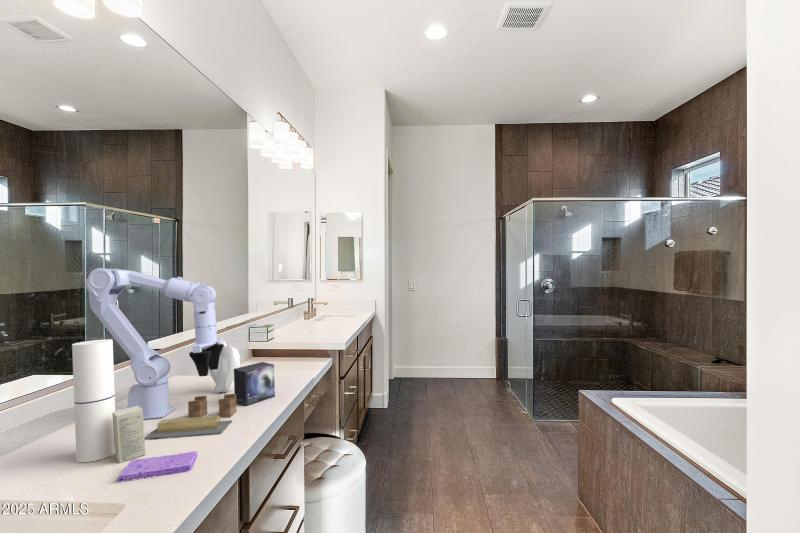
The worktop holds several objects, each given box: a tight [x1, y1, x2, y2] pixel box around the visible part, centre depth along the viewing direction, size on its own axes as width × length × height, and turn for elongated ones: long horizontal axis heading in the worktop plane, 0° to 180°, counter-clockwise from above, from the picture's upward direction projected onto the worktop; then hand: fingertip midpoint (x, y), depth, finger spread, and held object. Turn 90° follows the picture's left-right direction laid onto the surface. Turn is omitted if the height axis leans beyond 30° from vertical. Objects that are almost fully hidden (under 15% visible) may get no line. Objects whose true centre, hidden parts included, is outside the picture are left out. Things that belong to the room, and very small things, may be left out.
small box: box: [233, 361, 276, 407], centre depth 124 cm, size 11×6×10 cm, turn 145°
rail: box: [157, 414, 221, 433], centre depth 101 cm, size 14×3×2 cm, turn 94°
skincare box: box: [112, 406, 147, 464], centre depth 88 cm, size 5×4×10 cm
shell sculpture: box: [208, 336, 241, 394], centre depth 135 cm, size 8×8×18 cm
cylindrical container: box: [71, 338, 116, 463], centre depth 89 cm, size 7×7×25 cm
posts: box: [187, 393, 238, 419], centre depth 111 cm, size 11×5×5 cm, turn 94°
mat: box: [144, 420, 233, 441], centre depth 101 cm, size 18×8×1 cm, turn 94°
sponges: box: [118, 450, 198, 483], centre depth 81 cm, size 7×13×2 cm, turn 105°
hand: (208, 372), depth 118 cm, fingers open, 7 cm apart
